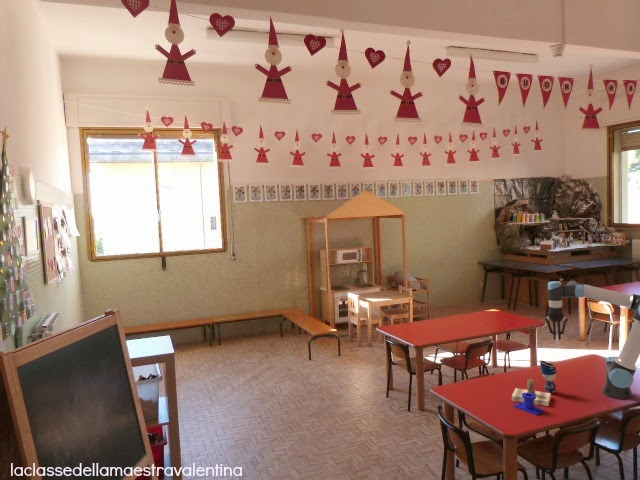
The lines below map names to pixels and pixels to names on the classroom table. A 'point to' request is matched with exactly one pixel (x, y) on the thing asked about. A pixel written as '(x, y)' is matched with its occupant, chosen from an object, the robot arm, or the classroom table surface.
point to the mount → (529, 404)
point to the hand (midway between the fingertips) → (557, 344)
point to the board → (541, 399)
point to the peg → (531, 386)
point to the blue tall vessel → (549, 375)
